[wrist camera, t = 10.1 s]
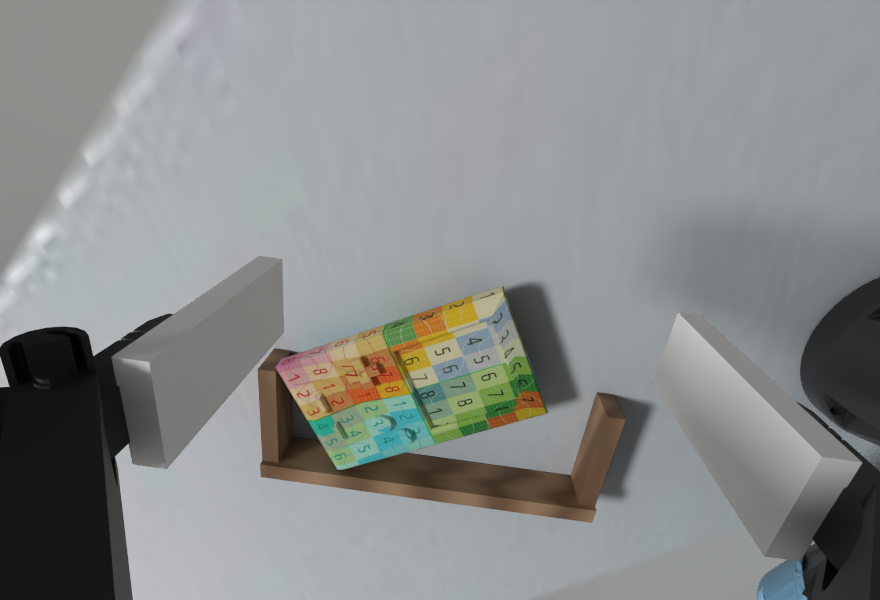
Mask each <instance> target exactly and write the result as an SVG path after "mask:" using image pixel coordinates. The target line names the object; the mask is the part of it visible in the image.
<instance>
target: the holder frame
mask: <svg viewBox="0 0 880 600" xmlns="http://www.w3.org/2000/svg"><path fill="white" fill-rule="evenodd" d="M289 356H291V351H288V350H281V349H274V350H273V351H272V352H271V354H270V355H269V356H268V357H267V359H266V360H265V361H264V362H263V363H262V365H261V366H260V367H259V368H258V383H259V402H260V422H261V441H262V460H263V461H262V462H261V464H260V470H261V477H266V478H273V479H280V480H287V481H295V482H302V483H309V484H316V485H323V486H331V487H338V488H345V489H352V490H360V491H367V492H374V493H381V494H388V495H396V496H403V497H410V498H417V499H425V500H432V501H439V502H446V503H454V504H461V505H468V506H475V507H482V508H490V509H497V510H504V511H511V512H519V513H526V514H533V515H540V516H547V517H555V518H562V519H569V520H576V521H584V522H591V523H592V522H593V519H594V516H595V513H596V508H595V505H596V502H597V499H598V496H599V494H600V491H601V488H602V485H603V482H604V479H605V477H606V474H607V471H608V468H609V465H610V463H611V460H612V457H613V454H614V451H615V449H616V446H617V443H618V440H619V437H620V434H621V432H622V429H623V426H624V423H625V420H626V419H625V417H624V415H623V413H622V411H621V409H620V407H619V405H618V403H617V401H616V399H615V397H614V395H612V394H604V393H597V394H596V397H595V401H594V404H593V407H592V410H591V413H590V416H589V420H588V423H587V426H586V429H585V432H584V436H583V439H582V442H581V445H580V448H579V452H578V455H577V458H576V461H575V464H574V467H573V471H572V474H571V476H570V475H563V474H555V473H548V472H541V471H534V470H526V469H519V468H512V467H505V466H497V465H490V464H483V463H475V462H468V461H461V460H454V459H446V458H439V457H432V456H425V455H417V454H410V453H401V454H398V455H394V456H391V457H387V458H383V459H380V460H376V461H372V462H369V463H365V464H362V465H358V466H354V467H351V468H347V469H344V470H337V469H336V467H335V466H334V464H333V462H332V461H331V459H330V457H329V456H328V454H327V452H326V451H325V449H324V447H323V446H322V444H321V442H320V441H316V440H308V439H301V438H294V437H292V397H291V393H290V391H289V390H288V388H287V386H286V385H285V383H284V381H283V380H282V378H281V376H280V375H279V373H278V372H277V370H276V368H275V366H276V365H277V363H278V362H279V361H280V359H283V358H286V357H289Z"/></svg>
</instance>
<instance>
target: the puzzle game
mask: <svg viewBox="0 0 880 600" xmlns="http://www.w3.org/2000/svg"><path fill="white" fill-rule="evenodd" d="M275 368H276V370H277V372H278V373H279V375H280V376H281V378H282V380H283V381H284V383H285V385H286V386H287V388H288V390H289V391H290V393H291V395H292V396H293V398H294V400H295V401H296V403H297V404H298V406H299V408H300V409H301V411H302V413H303V414H304V416H305V418H306V419H307V421H308V423H309V424H310V426H311V428H312V429H313V431H314V433H315V434H316V436H317V437H318V439H319V441H320V442H321V444H322V446H323V447H324V449H325V451H326V452H327V454H328V456H329V457H330V459H331V461H332V462H333V464H334V466H335V467H336V469H337V470H344V469H347V468H351V467H354V466H358V465H362V464H365V463H369V462H372V461H376V460H380V459H383V458H387V457H391V456H394V455H398V454H401V453H405V452H409V451H412V450H416V449H419V448H423V447H427V446H430V445H434V444H437V443H441V442H445V441H448V440H452V439H456V438H459V437H463V436H466V435H470V434H474V433H477V432H481V431H484V430H488V429H492V428H495V427H499V426H502V425H506V424H510V423H513V422H517V421H521V420H524V419H528V418H531V417H535V416H539V415H542V414H546V413H548V412H547V408H546V404H545V402H544V399H543V396H542V393H541V391H540V388H539V385H538V382H537V379H536V377H535V374H534V371H533V368H532V365H531V363H530V360H529V357H528V354H527V352H526V349H525V346H524V343H523V340H522V338H521V335H520V332H519V329H518V327H517V324H516V321H515V318H514V315H513V313H512V310H511V307H510V304H509V301H508V299H507V296H506V293H505V290H504V288H503V287H498V288H494V289H491V290H488V291H485V292H482V293H479V294H476V295H473V296H470V297H467V298H464V299H461V300H458V301H455V302H452V303H449V304H446V305H443V306H440V307H437V308H434V309H431V310H428V311H425V312H422V313H419V314H416V315H413V316H410V317H407V318H404V319H401V320H398V321H395V322H392V323H389V324H386V325H383V326H380V327H377V328H374V329H371V330H368V331H365V332H362V333H359V334H356V335H353V336H350V337H347V338H344V339H341V340H338V341H334V342H331V343H328V344H325V345H322V346H319V347H316V348H313V349H310V350H307V351H304V352H301V353H298V354H295V355H292V356H289V357H286V358H283V359H280V361H279V362H278V363H277V365H276V366H275Z"/></svg>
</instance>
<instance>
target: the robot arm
mask: <svg viewBox="0 0 880 600" xmlns="http://www.w3.org/2000/svg"><path fill="white" fill-rule="evenodd" d="M283 333H284V317H283V275H282V259H279V258H271V257H264V256H259V257H257V258H256V259H254V260H253V261H251V262H250V263H248V264H247V265H245V266H244V267H242V268H241V269H239V270H238V271H237V272H235V273H234V274H232V275H231V276H229V277H228V278H226V279H225V280H223V281H222V282H220V283H219V284H217V285H216V286H215V287H213V288H212V289H210V290H209V291H207V292H206V293H204V294H203V295H201V296H200V297H198V298H197V299H195V300H194V301H193V302H191V303H190V304H188V305H187V306H185V307H184V308H182V309H181V310H179V311H178V312H176V313H175V314H166V315H163V316H161V317H158V318H155V319H152V320H149V321H147V322H146V323H144V324H143V325H141V326H140V327H138V328H136V329H135V330H134V331H133V333H132V332H130V333H129V334H127V335H126V336H124V337H123V338H121V341H120V340H118V341H116V342H115V343H113V344H112V345H110V346H109V347H107V348H106V349H104V350H103V351H101V352H99V353H98V354H96V355H95V356H93V354H92V349H91V344H90V340H89V336H88V334H87V333H86V331H84V330H81V329H78V328H74V327H51V328H43V329H39V330H34V331H29V332H26V333H24V334H21V335H18V336H15V337H13V338H11V339H10V340H8V341H6V342H5V343H3V344H2V346H1V347H0V357H1V360H2V363H3V367H4V370H5V373H6V376H7V379H8V383H9V386H10V387H0V600H133V598H132V589H131V581H130V572H129V563H128V555H127V546H126V537H125V529H124V520H123V511H122V502H121V494H120V485H119V476H118V468H117V463H116V459H115V456H116V455H117V454H118V453H119V452H120V451H121V450H122V449H123V448H124V447H125V446H126V445H127V444H128V443H129V448H130V453H131V458H132V463H133V464H135V465H142V466H148V467H155V468H162V469H167V468H168V467H169V466H170V465H171V463H172V462H173V461H174V460H175V459H176V458H177V456H178V455H179V454H180V453H181V452H182V451H183V449H184V448H185V447H186V446H187V445H188V444H189V442H190V441H191V440H192V439H193V438H194V437H195V435H196V434H197V433H198V432H199V431H200V430H201V428H202V427H203V426H204V425H205V424H206V423H207V421H208V420H209V419H210V418H211V417H212V416H213V414H214V413H215V412H216V411H217V410H218V409H219V407H220V406H221V405H222V404H223V403H224V402H225V400H226V399H227V398H228V397H229V396H230V395H231V393H232V392H233V391H234V390H235V389H236V388H237V386H238V385H239V384H240V383H241V382H242V381H243V379H244V378H245V377H246V376H247V375H248V374H249V372H250V371H251V370H252V369H253V368H254V367H255V365H256V364H257V363H258V362H259V361H260V360H261V358H262V357H263V356H264V355H265V354H266V353H267V351H268V350H269V349H270V348H271V347H272V346H273V344H274V343H275V342H276V341H277V340H278V339H279V337H280V336H281V335H282V334H283ZM800 374H801V382H802V386H803V389H804V391H805V394H806V395H807V397H808V399H809V400H810V401H811V403H812V404H813V405H814V406H815V407H816V408H817V409H818V410H819V411H821V412H822V413H823V414H824V415H825V416H826V417H827V418H829V419H830V420H831V421H832V422H833V423H835V424H836V425H837V426H839V427H840V428H842V429H844V430H845V431H847V432H849V433H851V434H853V435H855V436H858V437H860V438H862V439H864V440H867V441H869V442H871V443H874V444H876V445H878V446H880V278H877V279H875V280H873V281H871V282H869V283H867V284H865V285H864V286H862V287H860V288H859V289H857V290H855V291H854V292H852V293H851V294H849V295H848V296H847V297H845V298H844V299H843V300H842V301H840V302H839V303H838V304H837V305H836V306H835V307H834V308H832V309H831V310H830V311H829V312H828V313H827V315H826V316H825V317H824V318H823V319H822V320H821V321H820V323H819V324H818V325H817V327H816V328H815V330H814V331H813V333H812V335H811V336H810V338H809V340H808V342H807V344H806V347H805V349H804V352H803V356H802V360H801V368H800ZM653 385H654V387H655V388H656V390H657V391H658V393H659V394H660V396H661V397H662V399H663V400H664V402H665V404H666V405H667V407H668V408H669V410H670V411H671V413H672V414H673V416H674V417H675V419H676V421H677V422H678V424H679V425H680V427H681V428H682V430H683V431H684V433H685V434H686V436H687V438H688V439H689V441H690V442H691V444H692V445H693V447H694V448H695V450H696V451H697V453H698V455H699V456H700V458H701V459H702V461H703V462H704V464H705V465H706V467H707V469H708V470H709V472H710V473H711V475H712V476H713V478H714V479H715V481H716V482H717V484H718V486H719V487H720V489H721V490H722V492H723V493H724V495H725V496H726V498H727V499H728V501H729V503H730V504H731V506H732V507H733V509H734V510H735V512H736V513H737V515H738V516H739V518H740V520H741V521H742V523H743V524H744V526H745V527H746V529H747V530H748V532H749V533H750V535H751V537H752V538H753V540H754V541H755V543H756V544H757V546H758V547H759V549H760V551H761V552H762V553H763V555H764V556H767V557H775V558H781V559H788V560H786V561H785V562H783V563H782V564H780V565H778V566H777V567H775V568H774V569H772V570H771V571H769V572H768V573H766V574H765V575H764V576H763V578H762V579H761V581H760V583H759V585H758V589H757V600H880V471H879V470H877V469H876V468H875V467H874V466H873V465H872V464H871V463H870V462H868V461H867V460H866V459H865V458H864V457H863V456H862V455H861V454H860V453H858V452H857V451H856V450H855V449H854V448H853V447H852V446H851V445H849V444H848V443H847V442H846V441H845V440H842V439H841V438H842V437H841V436H839V435H838V434H837V433H836V432H835V431H834V430H833V429H831V428H829V426H828V425H827V424H826V423H825V422H824V421H823V420H822V419H820V418H819V417H818V416H817V415H816V414H815V413H814V412H813V411H811V410H809V409H808V408H806V407H804V406H803V405H801V404H800V403H798V402H796V401H795V400H793V399H792V398H791V397H790V396H789V395H788V394H787V393H786V392H785V391H784V390H782V389H781V388H780V387H779V386H778V385H777V384H776V383H775V382H774V381H773V380H771V379H770V378H769V377H768V376H767V375H766V374H765V373H764V372H763V371H762V370H761V369H759V368H758V367H757V366H756V365H755V364H754V363H753V362H752V361H751V360H750V359H748V358H747V357H746V356H745V355H744V354H743V353H742V352H741V351H740V350H739V349H738V348H736V347H735V346H734V345H733V344H732V343H731V342H730V341H729V340H728V339H727V338H725V337H724V336H723V335H722V334H721V333H720V332H719V331H718V330H717V329H716V328H715V327H713V326H712V325H711V324H710V323H709V322H708V321H707V320H706V319H705V318H704V317H702V316H700V315H693V314H685V313H678V314H677V317H676V320H675V322H674V325H673V328H672V331H671V333H670V336H669V339H668V342H667V345H666V347H665V350H664V353H663V356H662V358H661V361H660V364H659V367H658V369H657V372H656V375H655V378H654V381H653ZM813 541H814V542H815V544H813V545H811V543H812V542H813Z"/></svg>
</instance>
